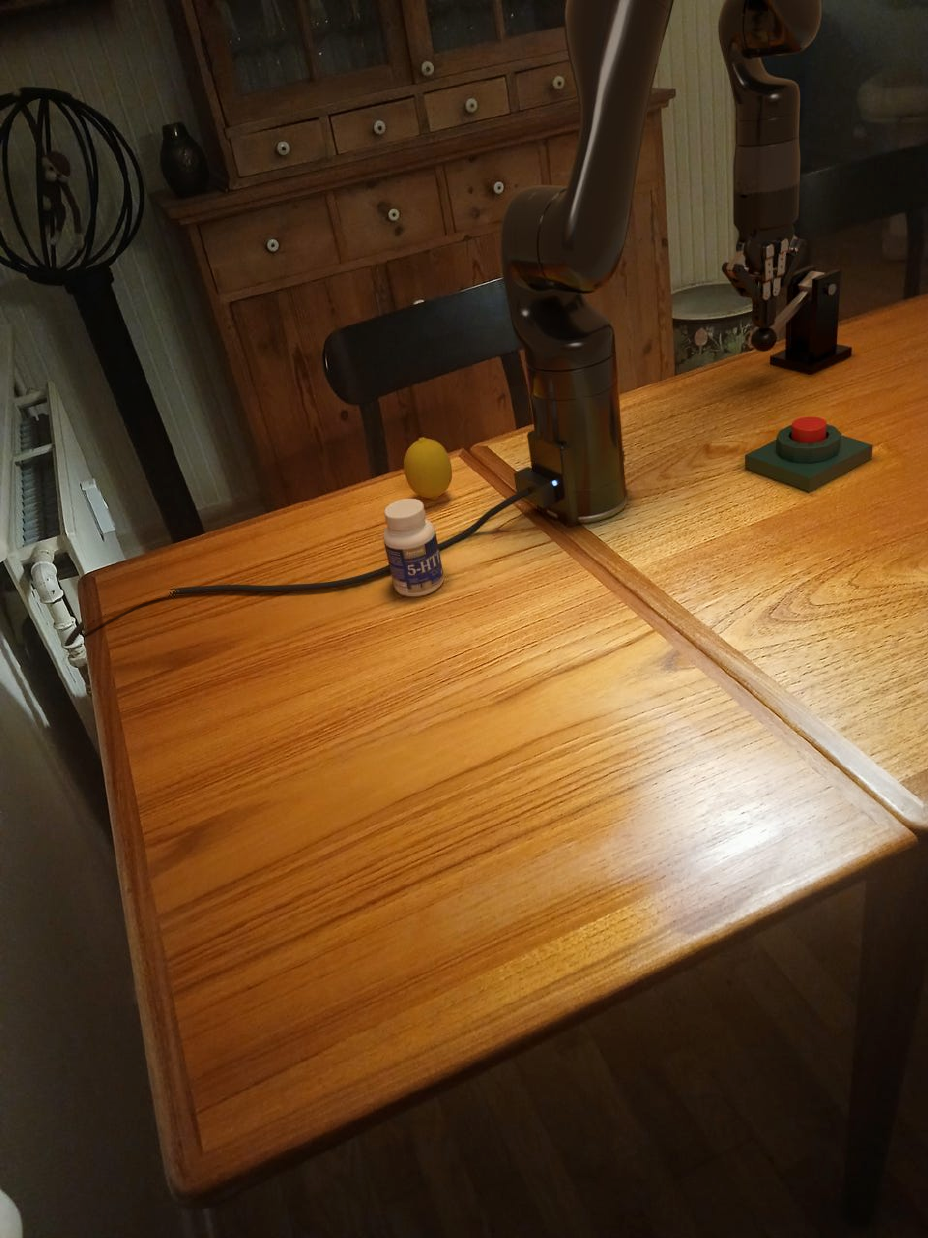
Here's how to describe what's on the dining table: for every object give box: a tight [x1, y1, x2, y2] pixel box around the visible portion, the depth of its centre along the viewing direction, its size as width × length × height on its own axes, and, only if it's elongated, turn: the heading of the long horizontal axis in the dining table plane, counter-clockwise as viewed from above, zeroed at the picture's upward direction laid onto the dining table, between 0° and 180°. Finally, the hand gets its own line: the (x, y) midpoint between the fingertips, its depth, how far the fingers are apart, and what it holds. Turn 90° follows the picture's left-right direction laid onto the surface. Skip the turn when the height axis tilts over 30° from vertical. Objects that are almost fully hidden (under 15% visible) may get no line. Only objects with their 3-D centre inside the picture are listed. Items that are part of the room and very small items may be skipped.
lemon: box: [403, 437, 453, 501], centre depth 111 cm, size 6×6×8 cm
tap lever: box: [750, 270, 826, 353], centre depth 124 cm, size 13×3×3 cm, turn 123°
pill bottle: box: [382, 498, 445, 597], centre depth 96 cm, size 5×5×9 cm
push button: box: [791, 416, 828, 443], centre depth 104 cm, size 4×4×2 cm
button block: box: [744, 423, 874, 493], centre depth 105 cm, size 10×9×4 cm
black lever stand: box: [769, 265, 853, 375], centre depth 126 cm, size 8×7×12 cm
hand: (763, 325), depth 122 cm, fingers closed
